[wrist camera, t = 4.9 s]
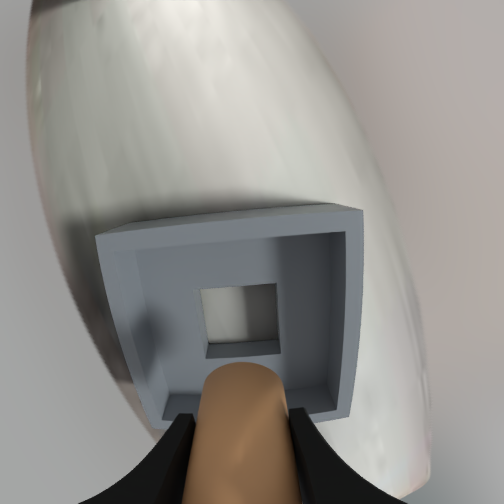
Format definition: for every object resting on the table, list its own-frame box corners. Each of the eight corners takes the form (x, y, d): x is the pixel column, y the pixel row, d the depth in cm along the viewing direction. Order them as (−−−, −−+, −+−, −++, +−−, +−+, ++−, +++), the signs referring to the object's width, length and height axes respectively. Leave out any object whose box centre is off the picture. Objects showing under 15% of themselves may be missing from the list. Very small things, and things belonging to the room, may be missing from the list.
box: (332, 376, 22) (349, 416, 17) (166, 387, 22) (152, 428, 17) (334, 203, 18) (363, 210, 14) (129, 222, 19) (94, 235, 14)
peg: (285, 415, 13) (304, 547, 6) (210, 420, 13) (194, 550, 6) (282, 357, 12) (310, 517, 5) (195, 364, 12) (158, 517, 5)
